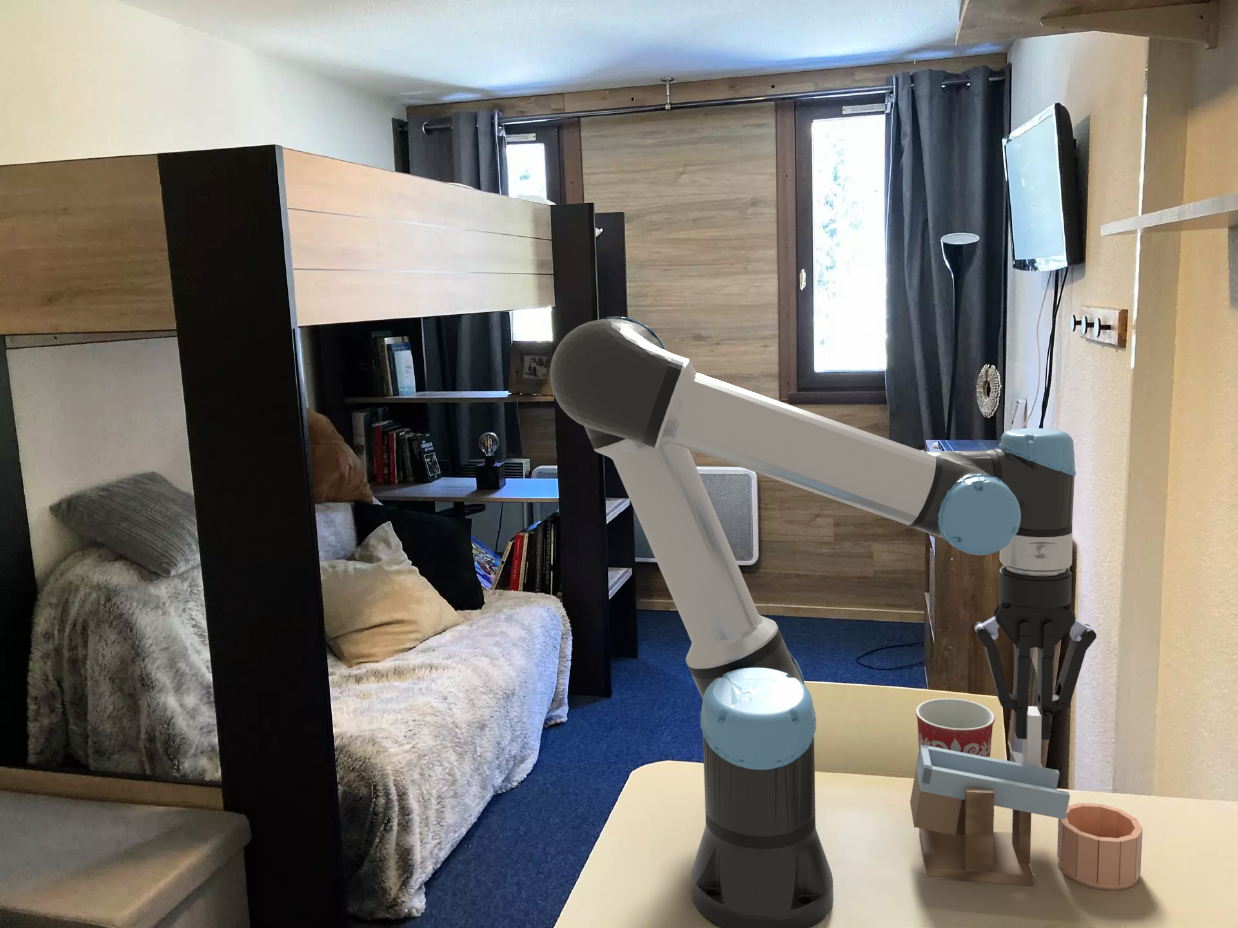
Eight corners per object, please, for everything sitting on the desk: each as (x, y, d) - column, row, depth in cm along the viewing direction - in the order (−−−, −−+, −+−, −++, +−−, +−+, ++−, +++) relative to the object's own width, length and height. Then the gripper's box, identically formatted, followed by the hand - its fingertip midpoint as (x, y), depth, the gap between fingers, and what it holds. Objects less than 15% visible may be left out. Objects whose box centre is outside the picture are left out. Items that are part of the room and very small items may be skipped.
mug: (998, 839, 115) (1000, 730, 113) (917, 833, 117) (917, 726, 115) (984, 787, 127) (986, 688, 125) (911, 782, 130) (911, 685, 127)
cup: (1067, 886, 106) (1068, 838, 105) (1051, 846, 113) (1052, 800, 112) (1149, 892, 104) (1151, 843, 103) (1127, 851, 112) (1128, 805, 111)
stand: (926, 877, 108) (926, 789, 107) (919, 836, 117) (919, 753, 115) (1034, 885, 106) (1036, 795, 104) (1019, 842, 114) (1021, 758, 113)
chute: (914, 828, 109) (924, 768, 108) (905, 773, 122) (915, 718, 120) (1057, 857, 106) (1070, 796, 105) (1033, 798, 119) (1044, 742, 117)
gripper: (978, 575, 109) (976, 776, 113) (1106, 576, 106) (1100, 782, 110) (969, 557, 116) (968, 746, 120) (1089, 558, 113) (1083, 752, 117)
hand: (1031, 763), depth 115 cm, fingers closed
